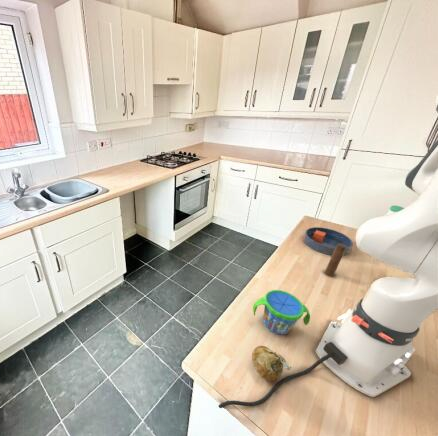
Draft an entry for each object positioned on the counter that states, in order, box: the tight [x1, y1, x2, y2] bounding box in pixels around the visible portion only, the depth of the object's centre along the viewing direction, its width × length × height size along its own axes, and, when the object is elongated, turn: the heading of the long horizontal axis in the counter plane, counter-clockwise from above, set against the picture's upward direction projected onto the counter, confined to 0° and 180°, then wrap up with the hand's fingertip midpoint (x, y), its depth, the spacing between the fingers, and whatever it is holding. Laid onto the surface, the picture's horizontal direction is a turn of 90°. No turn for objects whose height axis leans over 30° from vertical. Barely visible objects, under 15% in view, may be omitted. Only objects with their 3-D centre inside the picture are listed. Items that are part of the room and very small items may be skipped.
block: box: [312, 230, 326, 243], centre depth 116 cm, size 4×4×4 cm
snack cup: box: [252, 289, 311, 335], centre depth 74 cm, size 16×10×10 cm
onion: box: [251, 345, 292, 381], centre depth 63 cm, size 8×8×8 cm
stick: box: [324, 243, 347, 277], centre depth 94 cm, size 3×3×14 cm
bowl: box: [302, 226, 354, 257], centre depth 113 cm, size 18×18×4 cm
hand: (373, 243), depth 86 cm, fingers open, 8 cm apart
